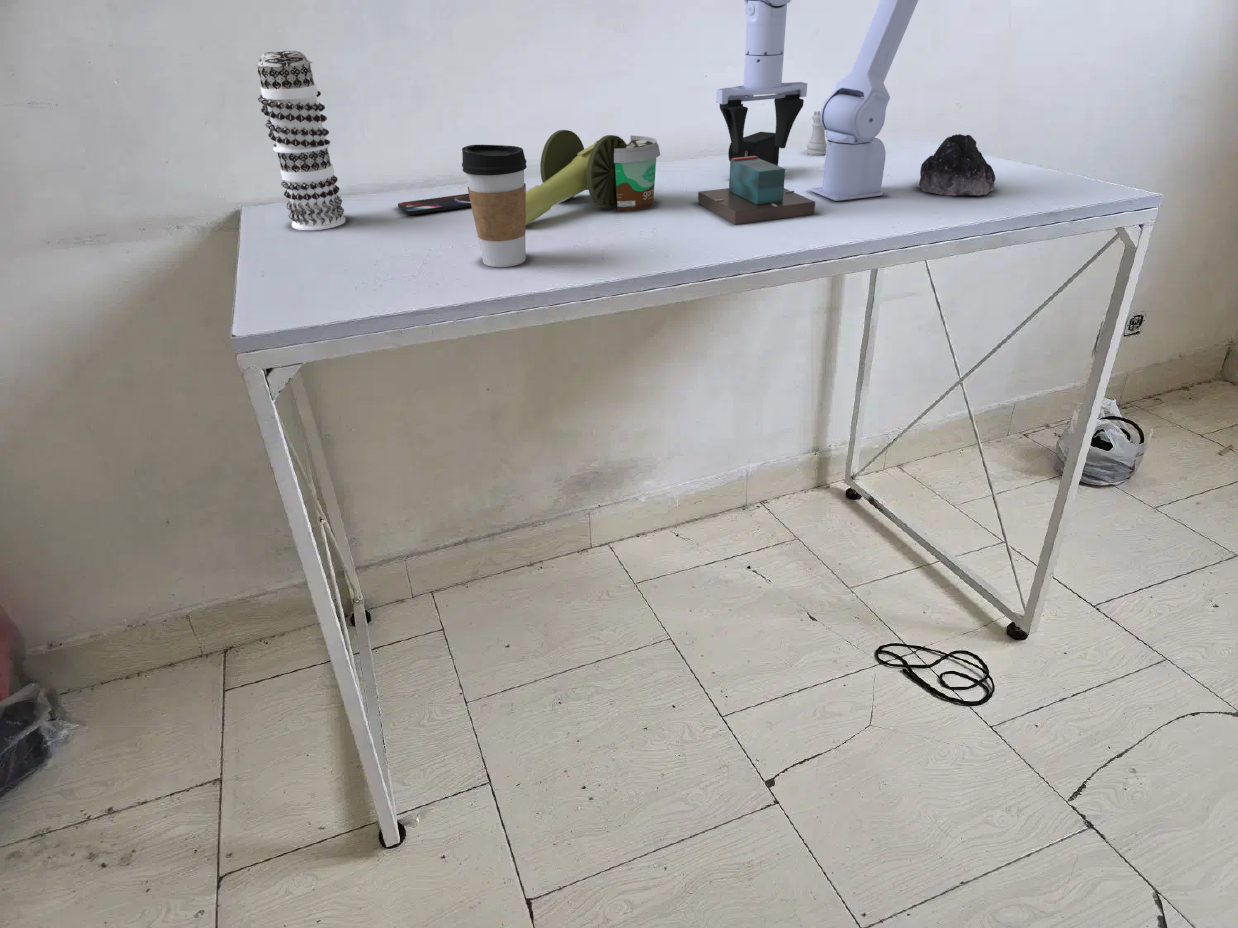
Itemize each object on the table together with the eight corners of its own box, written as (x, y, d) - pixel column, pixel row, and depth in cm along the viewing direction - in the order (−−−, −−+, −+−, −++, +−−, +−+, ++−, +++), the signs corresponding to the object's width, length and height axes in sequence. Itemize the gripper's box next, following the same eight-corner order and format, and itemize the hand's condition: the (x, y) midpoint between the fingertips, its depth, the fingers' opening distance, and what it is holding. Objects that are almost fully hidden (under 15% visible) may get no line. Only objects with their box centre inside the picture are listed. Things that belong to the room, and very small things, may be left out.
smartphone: (493, 200, 138) (406, 212, 133) (493, 204, 139) (407, 216, 133) (479, 191, 144) (396, 203, 138) (479, 195, 144) (396, 206, 139)
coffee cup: (476, 253, 115) (462, 142, 108) (534, 250, 116) (525, 139, 108) (471, 272, 108) (456, 155, 100) (534, 268, 109) (524, 152, 101)
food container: (652, 215, 130) (651, 150, 125) (615, 213, 132) (613, 149, 126) (666, 196, 140) (666, 135, 135) (632, 195, 142) (631, 135, 136)
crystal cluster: (962, 181, 147) (966, 123, 142) (1016, 191, 135) (1022, 127, 130) (898, 195, 144) (900, 136, 139) (948, 206, 132) (952, 142, 128)
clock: (772, 194, 140) (773, 182, 138) (815, 214, 128) (816, 200, 127) (697, 203, 136) (697, 190, 135) (734, 224, 124) (735, 210, 123)
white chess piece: (805, 155, 166) (809, 114, 162) (805, 151, 170) (808, 110, 166) (827, 155, 166) (832, 114, 161) (826, 151, 169) (831, 110, 165)
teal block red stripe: (783, 201, 127) (785, 167, 125) (757, 204, 126) (759, 170, 123) (753, 188, 135) (755, 155, 133) (728, 191, 134) (730, 158, 131)
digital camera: (752, 168, 157) (754, 130, 154) (777, 171, 155) (780, 132, 151) (726, 179, 150) (728, 139, 147) (752, 182, 148) (754, 142, 144)
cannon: (541, 234, 122) (535, 156, 116) (486, 223, 129) (478, 148, 123) (639, 199, 139) (638, 129, 133) (586, 191, 145) (583, 124, 139)
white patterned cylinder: (287, 220, 134) (246, 52, 120) (344, 213, 137) (310, 48, 123) (291, 234, 126) (248, 57, 113) (351, 226, 129) (316, 52, 116)
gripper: (793, 48, 125) (786, 141, 133) (708, 55, 122) (706, 149, 129) (817, 52, 120) (809, 148, 127) (729, 59, 116) (725, 157, 123)
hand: (758, 149), depth 127 cm, fingers open, 7 cm apart
